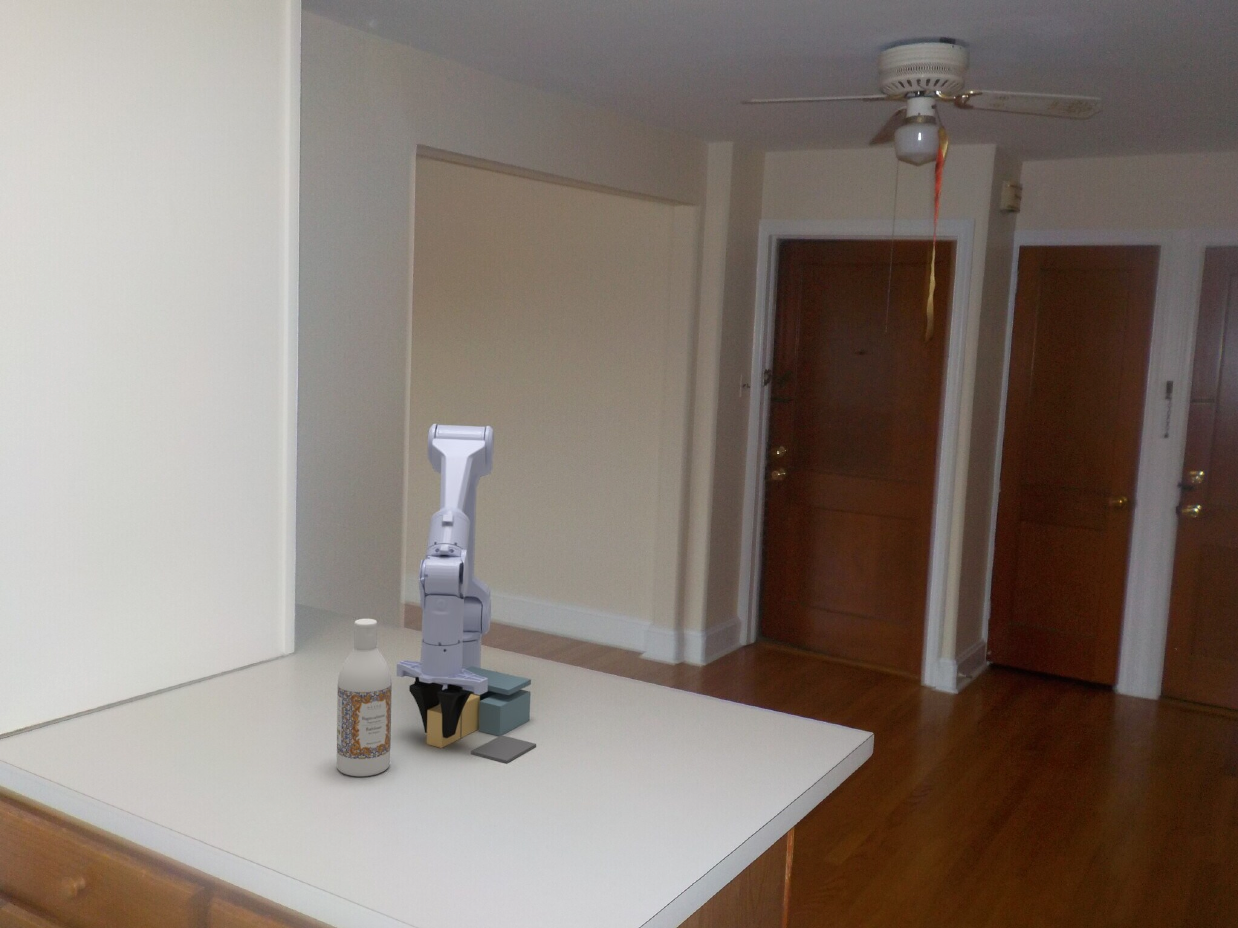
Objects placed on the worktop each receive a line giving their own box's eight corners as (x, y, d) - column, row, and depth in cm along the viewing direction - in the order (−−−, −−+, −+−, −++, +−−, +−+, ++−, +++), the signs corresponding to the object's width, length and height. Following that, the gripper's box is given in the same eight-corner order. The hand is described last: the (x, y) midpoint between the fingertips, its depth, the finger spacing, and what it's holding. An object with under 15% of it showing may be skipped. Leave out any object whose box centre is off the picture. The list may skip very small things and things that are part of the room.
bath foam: (347, 781, 140) (349, 630, 138) (329, 762, 146) (331, 617, 144) (398, 771, 144) (400, 624, 142) (378, 753, 150) (381, 612, 148)
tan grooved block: (426, 743, 154) (427, 709, 154) (464, 725, 162) (465, 692, 162) (441, 747, 153) (442, 713, 152) (479, 728, 161) (480, 696, 160)
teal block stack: (438, 720, 163) (439, 679, 163) (470, 705, 170) (471, 666, 170) (499, 736, 158) (500, 693, 158) (529, 720, 165) (530, 679, 165)
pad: (471, 753, 151) (471, 750, 151) (501, 737, 158) (501, 734, 158) (506, 763, 149) (507, 760, 148) (536, 746, 155) (536, 743, 155)
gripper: (383, 637, 153) (381, 730, 154) (467, 655, 146) (464, 753, 148) (415, 626, 159) (413, 716, 161) (497, 643, 152) (494, 737, 154)
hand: (440, 733), depth 155 cm, fingers closed on tan grooved block, 3 cm apart
